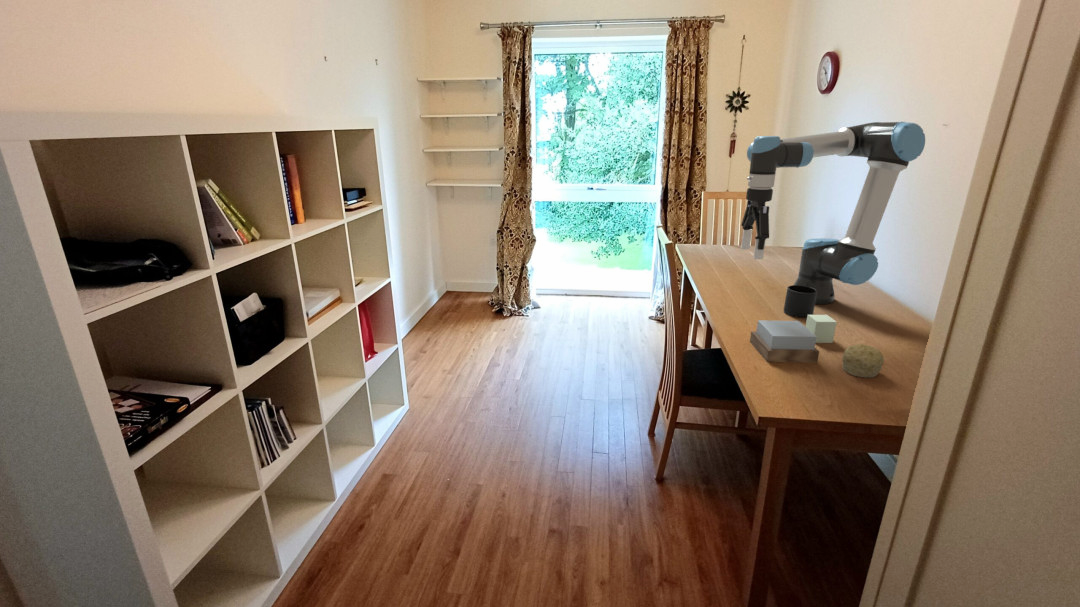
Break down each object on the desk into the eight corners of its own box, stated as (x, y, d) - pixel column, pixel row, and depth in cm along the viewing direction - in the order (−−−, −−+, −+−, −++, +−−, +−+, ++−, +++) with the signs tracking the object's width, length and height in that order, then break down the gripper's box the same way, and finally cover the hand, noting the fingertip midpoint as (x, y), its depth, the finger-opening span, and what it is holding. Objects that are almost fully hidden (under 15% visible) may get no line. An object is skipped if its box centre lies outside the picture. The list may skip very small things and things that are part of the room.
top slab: (796, 333, 155) (798, 320, 154) (814, 349, 144) (816, 336, 142) (756, 332, 156) (758, 320, 154) (770, 348, 144) (772, 336, 143)
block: (823, 335, 162) (827, 314, 160) (832, 343, 157) (836, 321, 154) (803, 335, 163) (807, 314, 160) (812, 342, 157) (816, 321, 155)
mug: (810, 308, 186) (815, 284, 183) (814, 319, 175) (818, 294, 172) (782, 305, 189) (786, 281, 186) (783, 316, 178) (788, 291, 175)
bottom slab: (795, 344, 157) (797, 332, 156) (816, 364, 144) (819, 351, 143) (749, 343, 158) (751, 331, 157) (766, 363, 145) (768, 350, 143)
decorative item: (841, 375, 145) (827, 350, 141) (872, 355, 143) (858, 330, 140) (864, 392, 136) (850, 366, 132) (897, 371, 134) (883, 344, 131)
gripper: (736, 183, 171) (729, 244, 179) (760, 193, 148) (751, 263, 155) (759, 183, 171) (751, 245, 178) (787, 193, 147) (776, 263, 155)
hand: (751, 253), depth 167 cm, fingers open, 13 cm apart
